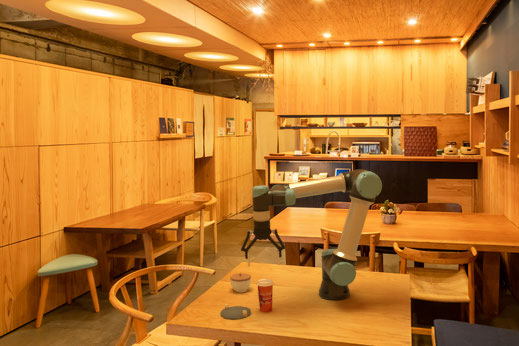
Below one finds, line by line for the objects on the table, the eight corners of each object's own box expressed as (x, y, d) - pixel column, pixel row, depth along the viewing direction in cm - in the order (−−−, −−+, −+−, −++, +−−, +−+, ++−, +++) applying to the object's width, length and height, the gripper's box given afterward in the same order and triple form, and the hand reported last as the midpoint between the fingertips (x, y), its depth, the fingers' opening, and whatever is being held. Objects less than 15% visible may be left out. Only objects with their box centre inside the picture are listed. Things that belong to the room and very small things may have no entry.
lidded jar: (252, 287, 269) (251, 269, 268) (250, 294, 258) (249, 276, 257) (232, 287, 270) (231, 270, 269) (229, 294, 259) (228, 276, 258)
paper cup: (260, 314, 231) (259, 284, 230) (255, 308, 239) (254, 279, 237) (276, 311, 233) (275, 282, 232) (271, 306, 241) (270, 277, 239)
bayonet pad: (251, 307, 240) (251, 301, 240) (250, 319, 226) (250, 312, 226) (221, 308, 240) (221, 302, 240) (219, 320, 226) (218, 314, 226)
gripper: (288, 216, 235) (290, 261, 237) (234, 219, 236) (237, 263, 238) (289, 220, 228) (291, 266, 230) (233, 222, 228) (236, 268, 230)
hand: (263, 265), depth 234 cm, fingers open, 13 cm apart
